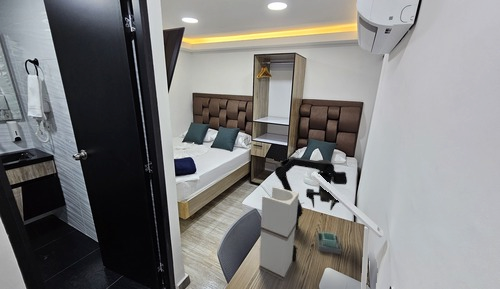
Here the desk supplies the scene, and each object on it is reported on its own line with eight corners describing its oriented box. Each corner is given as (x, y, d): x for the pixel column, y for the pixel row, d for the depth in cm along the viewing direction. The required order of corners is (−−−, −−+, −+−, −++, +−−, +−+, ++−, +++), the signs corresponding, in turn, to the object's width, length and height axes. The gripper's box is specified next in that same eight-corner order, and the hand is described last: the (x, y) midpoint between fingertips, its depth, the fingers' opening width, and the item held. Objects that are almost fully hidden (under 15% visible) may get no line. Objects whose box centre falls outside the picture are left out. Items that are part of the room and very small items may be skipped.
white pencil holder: (292, 263, 92) (298, 193, 83) (283, 281, 83) (289, 204, 74) (269, 253, 97) (273, 186, 89) (259, 268, 88) (262, 196, 80)
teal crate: (322, 247, 101) (323, 239, 100) (321, 239, 107) (322, 231, 106) (335, 250, 100) (336, 241, 99) (333, 241, 105) (334, 233, 104)
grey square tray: (318, 251, 100) (319, 246, 99) (316, 237, 109) (317, 232, 109) (340, 255, 97) (341, 250, 97) (336, 240, 107) (337, 235, 107)
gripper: (307, 187, 105) (305, 213, 109) (346, 192, 101) (342, 219, 105) (307, 179, 116) (305, 203, 119) (342, 183, 111) (338, 208, 115)
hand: (322, 208), depth 114 cm, fingers open, 9 cm apart
